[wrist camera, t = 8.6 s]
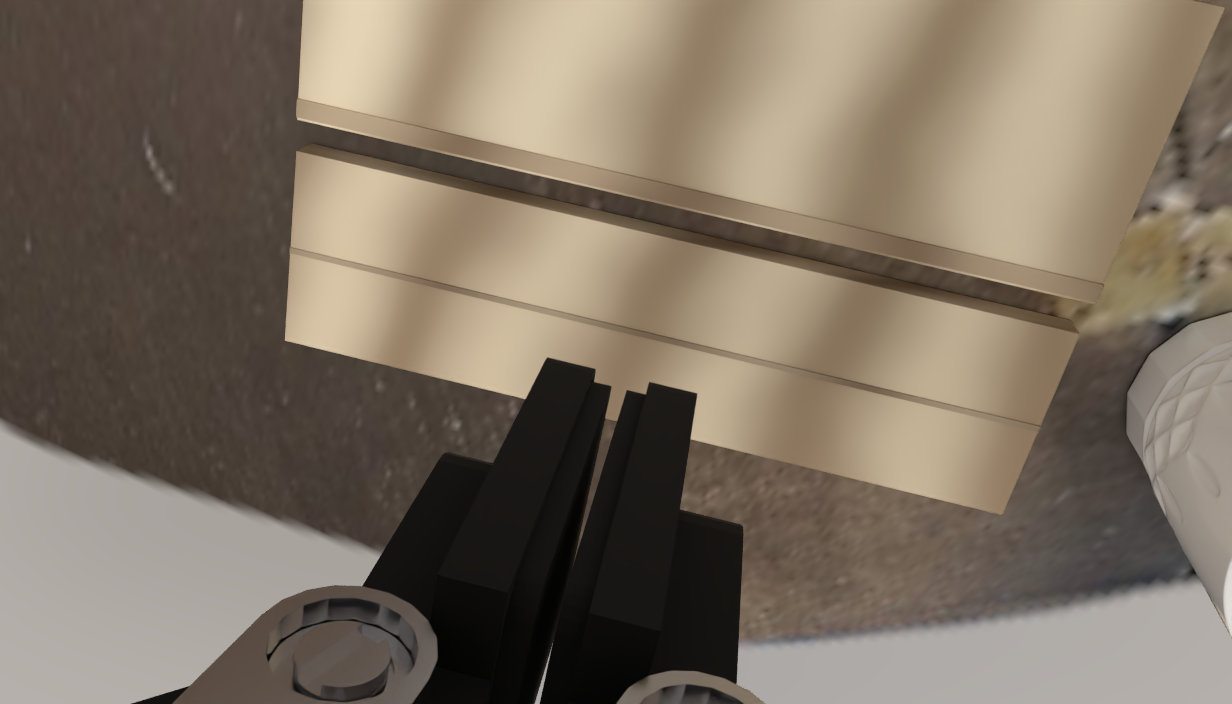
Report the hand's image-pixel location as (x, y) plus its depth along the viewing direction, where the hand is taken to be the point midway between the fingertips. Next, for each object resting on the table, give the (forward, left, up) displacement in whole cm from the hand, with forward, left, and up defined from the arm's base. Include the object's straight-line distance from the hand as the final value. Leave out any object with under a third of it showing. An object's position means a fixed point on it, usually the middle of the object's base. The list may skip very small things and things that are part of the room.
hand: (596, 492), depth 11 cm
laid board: (0, +8, -23) cm, 24 cm away
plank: (0, -2, -23) cm, 23 cm away
